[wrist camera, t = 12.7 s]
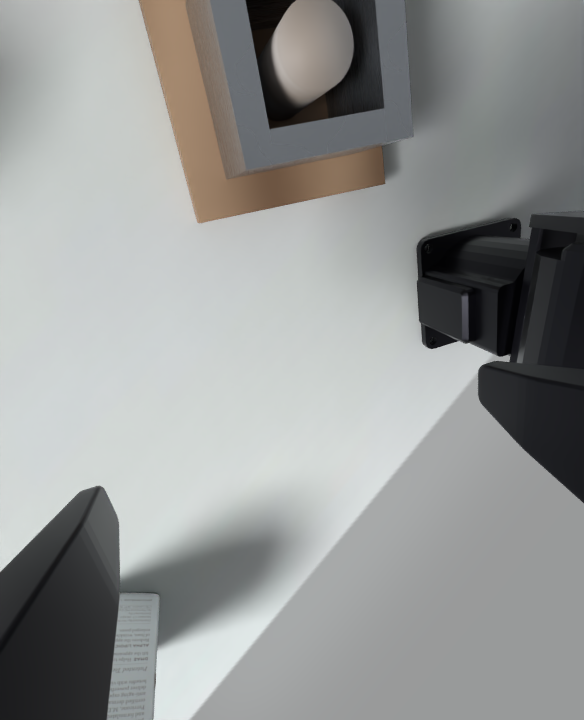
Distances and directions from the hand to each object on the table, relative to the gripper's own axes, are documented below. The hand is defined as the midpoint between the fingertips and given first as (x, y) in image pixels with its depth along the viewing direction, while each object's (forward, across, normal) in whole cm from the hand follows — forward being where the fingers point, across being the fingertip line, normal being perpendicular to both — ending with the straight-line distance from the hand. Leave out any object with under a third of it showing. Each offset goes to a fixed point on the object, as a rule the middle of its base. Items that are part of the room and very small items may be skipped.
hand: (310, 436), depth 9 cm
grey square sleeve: (+12, -4, -9) cm, 15 cm away
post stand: (+13, -4, -9) cm, 16 cm away
